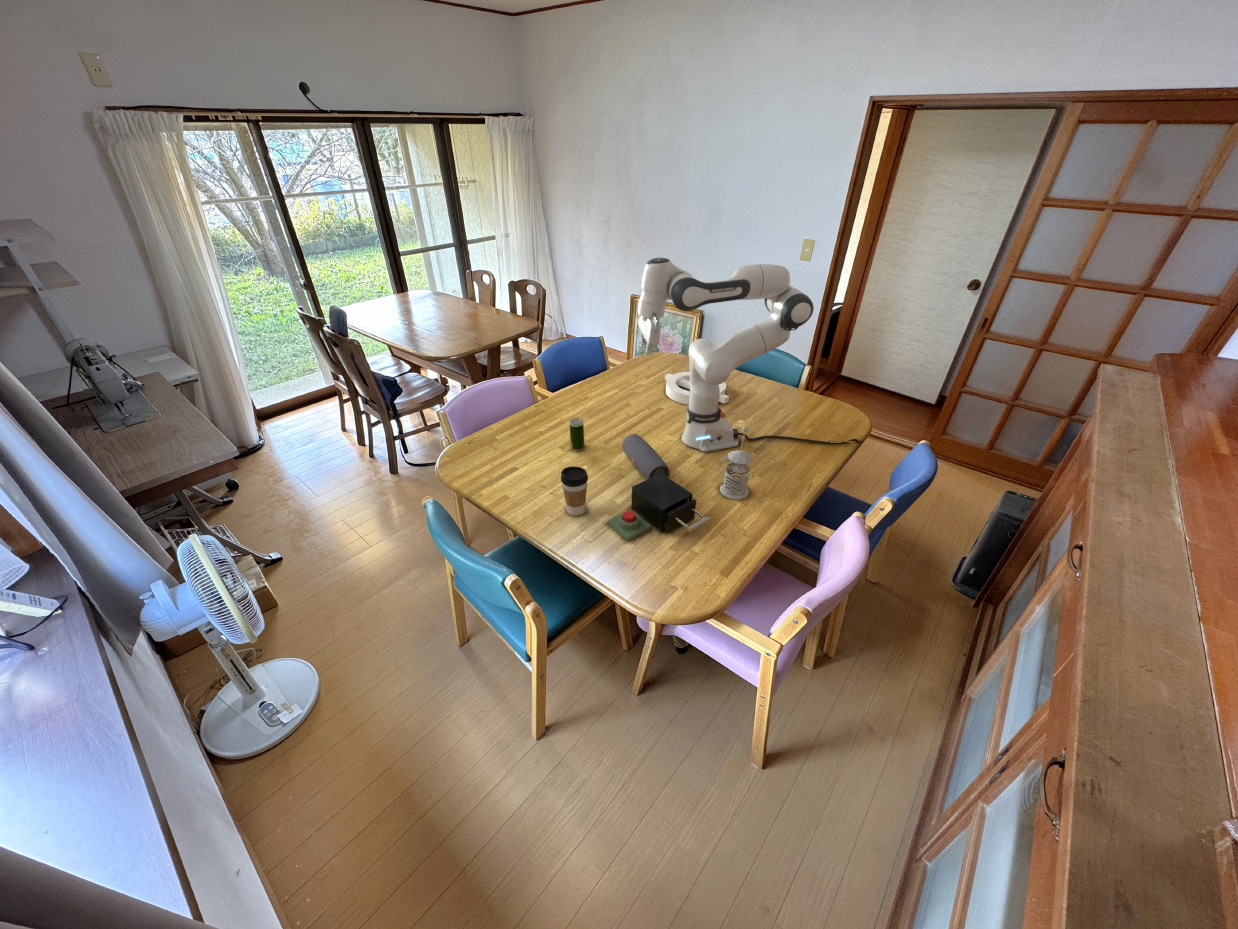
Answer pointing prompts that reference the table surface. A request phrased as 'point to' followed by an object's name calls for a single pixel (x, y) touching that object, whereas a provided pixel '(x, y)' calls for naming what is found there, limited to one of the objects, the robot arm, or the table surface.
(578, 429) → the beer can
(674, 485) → the dark drawer cabinet
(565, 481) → the coffee cup
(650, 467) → the bluetooth speaker
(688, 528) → the black drawer
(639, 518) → the control block
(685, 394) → the white circle with bar
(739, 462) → the french press
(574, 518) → the table surface
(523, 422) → the table surface
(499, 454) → the table surface
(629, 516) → the stop button
